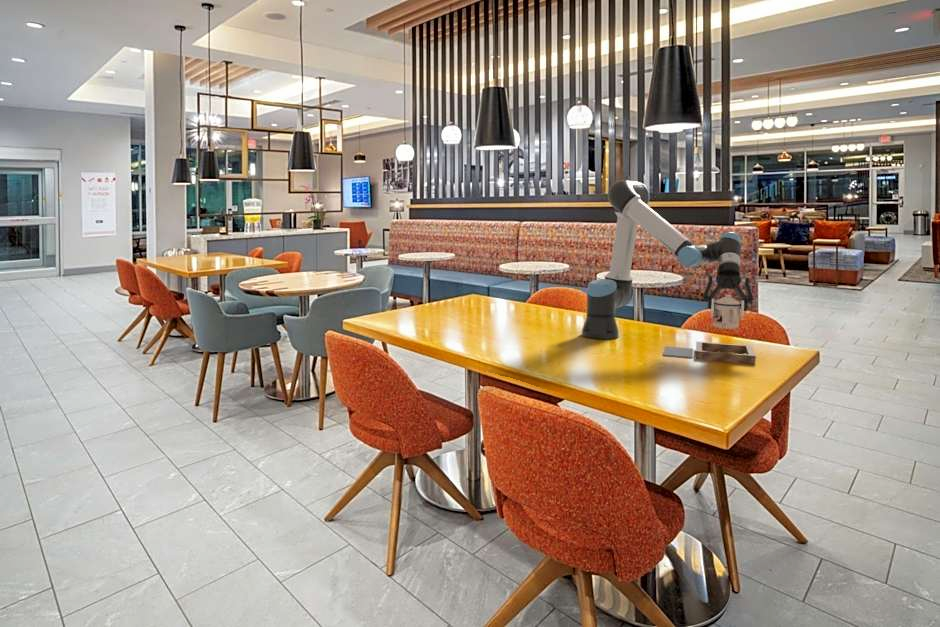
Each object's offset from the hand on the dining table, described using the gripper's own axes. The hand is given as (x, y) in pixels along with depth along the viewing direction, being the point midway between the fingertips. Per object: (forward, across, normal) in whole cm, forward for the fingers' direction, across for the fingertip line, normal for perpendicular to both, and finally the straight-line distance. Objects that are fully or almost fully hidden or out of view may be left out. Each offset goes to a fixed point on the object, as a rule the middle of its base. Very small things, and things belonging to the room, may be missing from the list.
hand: (726, 316), depth 205 cm
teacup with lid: (+1, 0, +6) cm, 6 cm away
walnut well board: (+8, 0, +13) cm, 15 cm away
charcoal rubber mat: (+9, -15, +13) cm, 22 cm away
